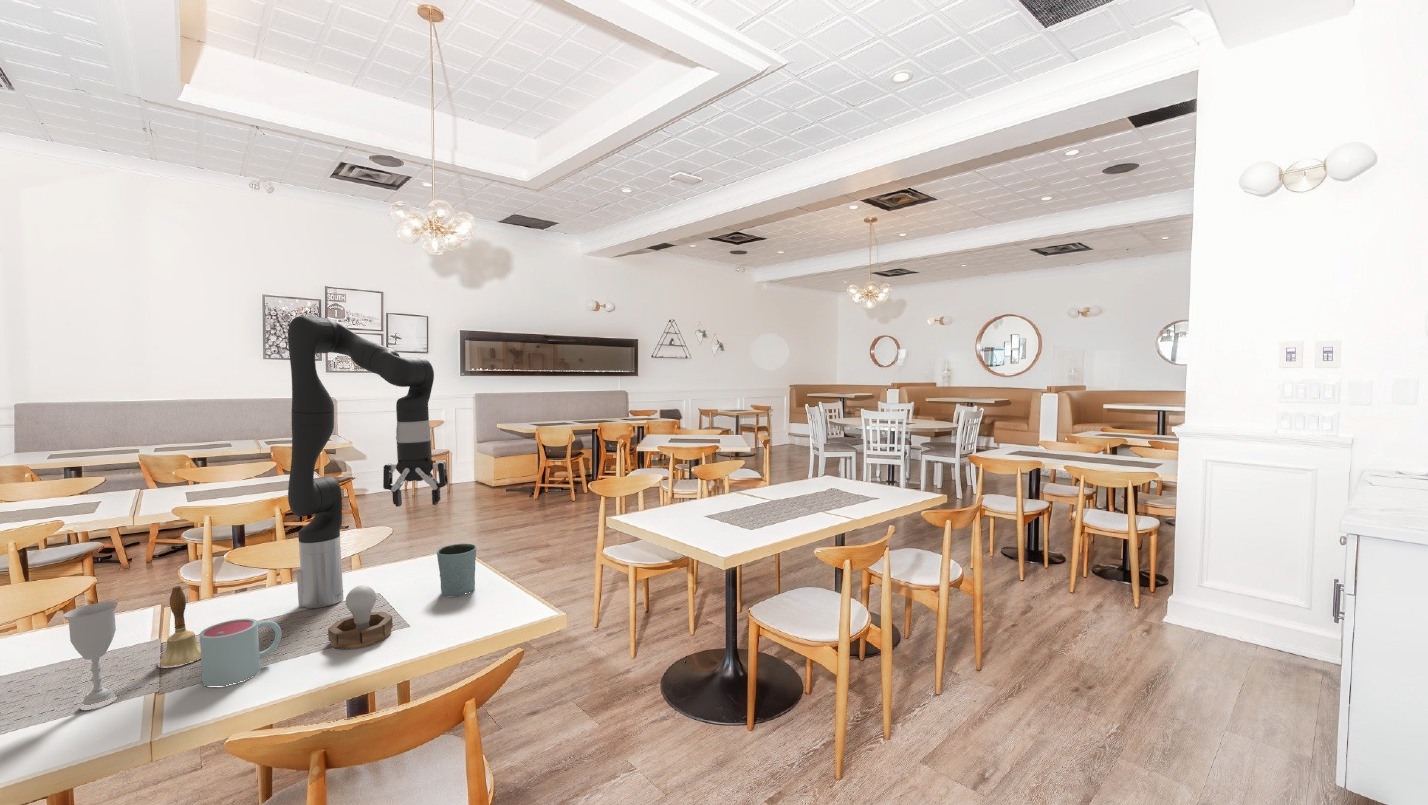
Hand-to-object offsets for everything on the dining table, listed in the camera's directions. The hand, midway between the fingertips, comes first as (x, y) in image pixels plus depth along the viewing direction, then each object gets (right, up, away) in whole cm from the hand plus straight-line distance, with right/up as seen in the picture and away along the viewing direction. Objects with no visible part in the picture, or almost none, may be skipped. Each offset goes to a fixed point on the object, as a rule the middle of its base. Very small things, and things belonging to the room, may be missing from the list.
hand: (417, 505), depth 150 cm
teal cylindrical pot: (+2, -27, +19) cm, 33 cm away
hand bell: (-41, -30, -19) cm, 54 cm away
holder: (-8, -29, -10) cm, 31 cm away
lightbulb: (-8, -28, -10) cm, 31 cm away
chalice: (-42, -31, -36) cm, 64 cm away
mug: (-23, -30, -25) cm, 45 cm away
